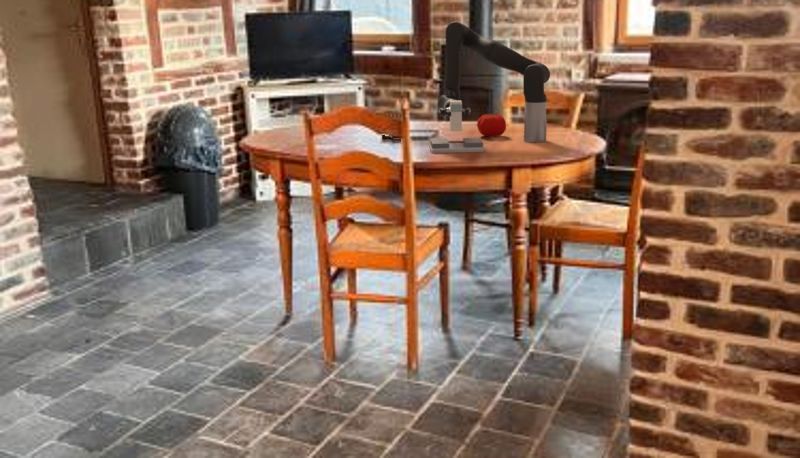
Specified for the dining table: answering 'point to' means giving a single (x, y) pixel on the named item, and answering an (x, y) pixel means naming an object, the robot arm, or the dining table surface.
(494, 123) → the tomato
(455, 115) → the grey module
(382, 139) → the ammunition clip
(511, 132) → the dining table surface
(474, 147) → the rack board
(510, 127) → the dining table surface
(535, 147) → the dining table surface
